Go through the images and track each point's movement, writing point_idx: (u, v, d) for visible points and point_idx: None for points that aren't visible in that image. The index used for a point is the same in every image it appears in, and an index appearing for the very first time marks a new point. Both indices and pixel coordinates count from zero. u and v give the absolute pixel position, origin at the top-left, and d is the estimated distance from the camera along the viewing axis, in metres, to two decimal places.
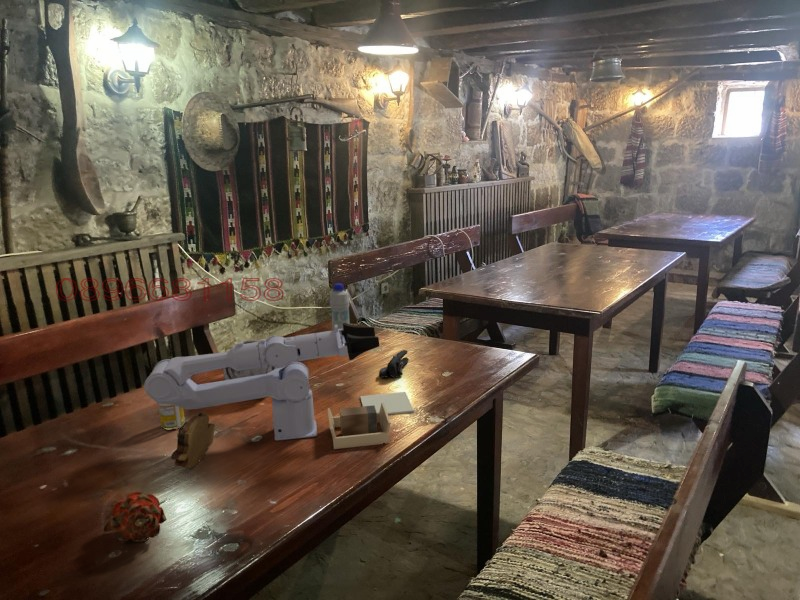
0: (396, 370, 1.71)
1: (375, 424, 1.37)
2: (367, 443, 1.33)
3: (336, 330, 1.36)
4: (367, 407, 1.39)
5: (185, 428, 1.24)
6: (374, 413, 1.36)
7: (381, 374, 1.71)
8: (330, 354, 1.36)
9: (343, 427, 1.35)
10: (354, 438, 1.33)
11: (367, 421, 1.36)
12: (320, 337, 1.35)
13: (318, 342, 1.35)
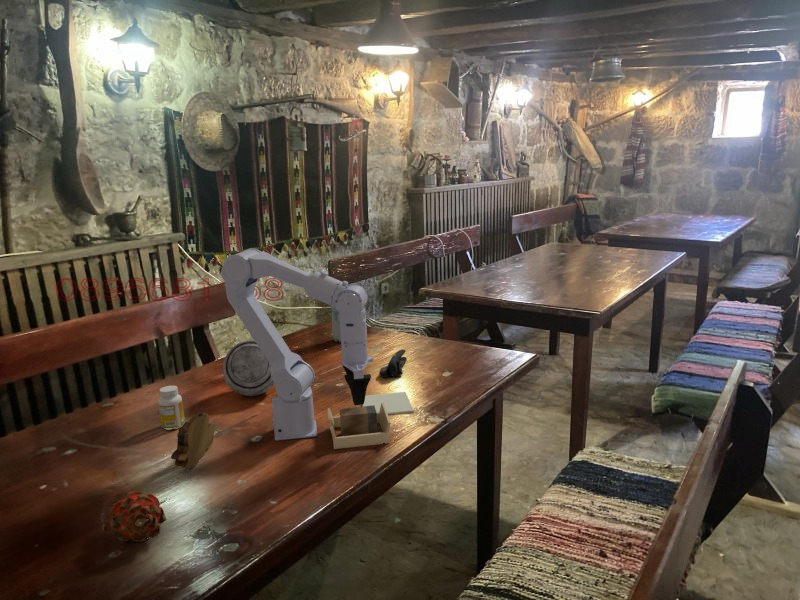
0: (397, 369, 1.72)
1: (375, 424, 1.37)
2: (367, 443, 1.33)
3: (369, 360, 1.34)
4: (367, 407, 1.39)
5: (185, 428, 1.24)
6: (374, 413, 1.36)
7: (382, 373, 1.71)
8: (346, 354, 1.32)
9: (343, 427, 1.35)
10: (354, 438, 1.33)
11: (367, 421, 1.36)
12: (365, 345, 1.32)
13: (361, 344, 1.31)
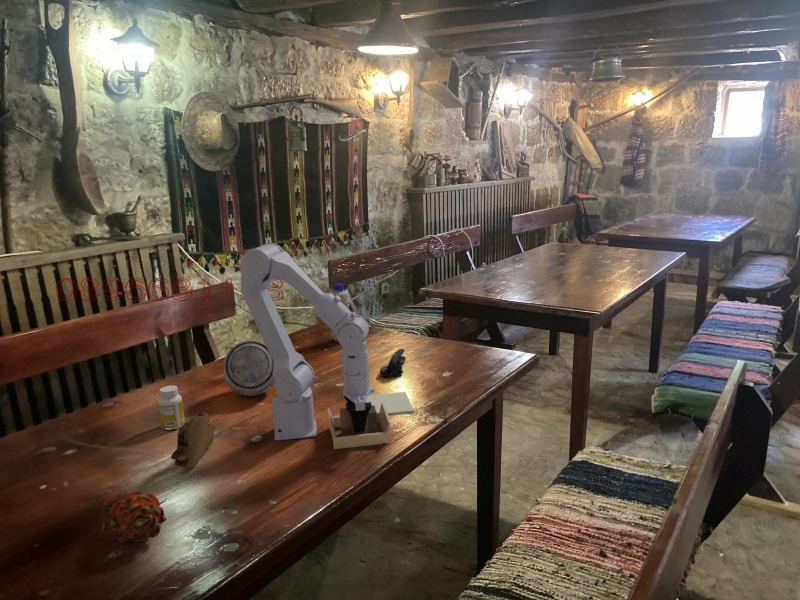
0: (397, 368, 1.72)
1: (375, 424, 1.37)
2: (367, 443, 1.33)
3: (371, 391, 1.35)
4: None
5: (185, 428, 1.24)
6: (374, 413, 1.36)
7: (383, 373, 1.71)
8: (348, 386, 1.33)
9: (343, 427, 1.35)
10: (354, 438, 1.33)
11: (367, 421, 1.36)
12: (367, 376, 1.34)
13: (363, 375, 1.33)
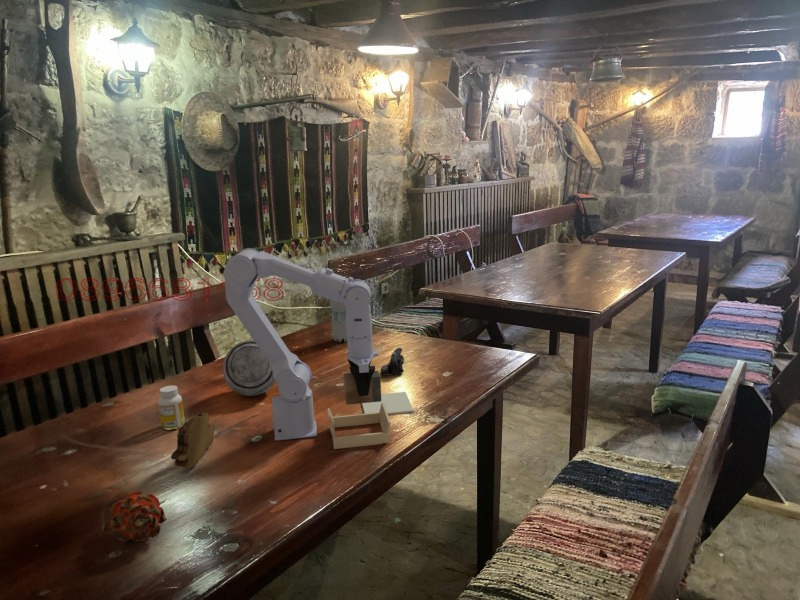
0: (398, 367, 1.73)
1: (379, 388, 1.37)
2: (367, 443, 1.33)
3: (375, 354, 1.36)
4: None
5: (185, 428, 1.24)
6: (378, 377, 1.37)
7: (384, 372, 1.72)
8: (352, 349, 1.34)
9: (347, 391, 1.36)
10: (354, 438, 1.33)
11: (371, 385, 1.37)
12: (370, 340, 1.35)
13: (367, 339, 1.34)
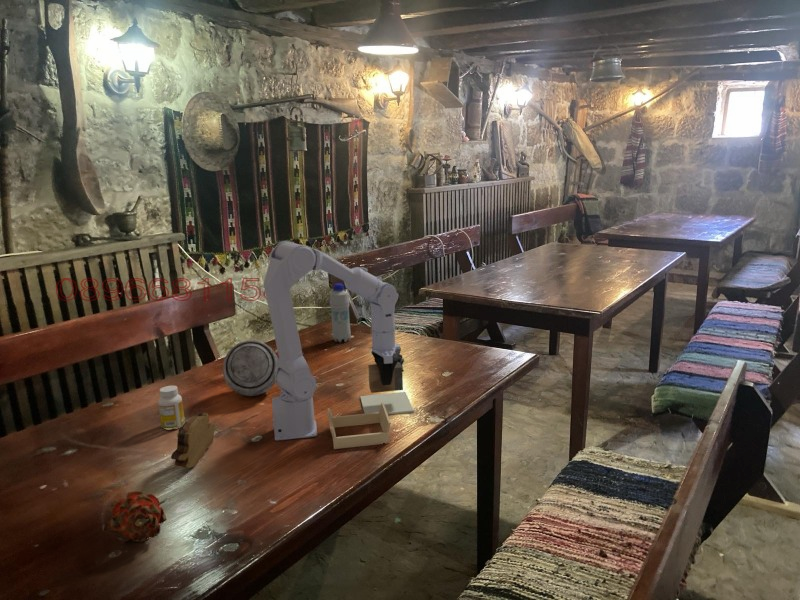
0: None
1: (401, 378, 1.51)
2: (367, 443, 1.33)
3: (397, 347, 1.50)
4: None
5: (185, 428, 1.24)
6: (400, 368, 1.51)
7: None
8: (377, 342, 1.48)
9: (372, 380, 1.50)
10: (354, 438, 1.33)
11: (394, 375, 1.51)
12: (393, 334, 1.48)
13: (390, 333, 1.47)
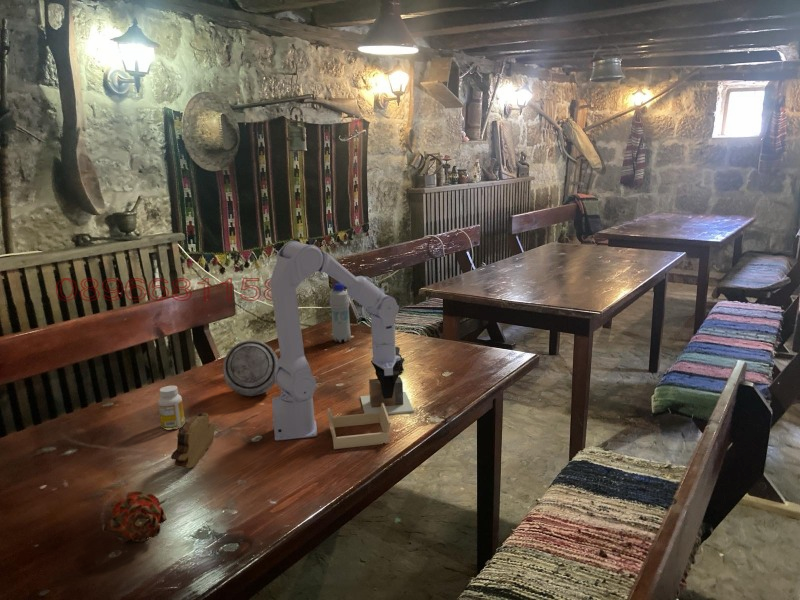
0: (399, 366, 1.75)
1: (401, 393, 1.52)
2: (367, 443, 1.33)
3: (397, 359, 1.51)
4: None
5: (185, 428, 1.24)
6: (400, 383, 1.52)
7: None
8: (377, 354, 1.49)
9: (373, 395, 1.51)
10: (354, 438, 1.33)
11: (394, 390, 1.52)
12: (393, 346, 1.49)
13: (390, 345, 1.48)
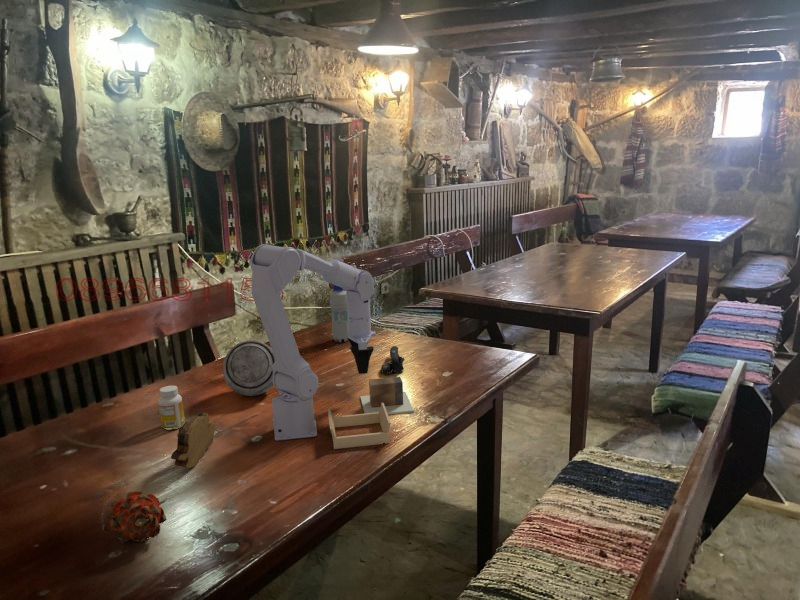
0: (399, 365, 1.75)
1: (401, 393, 1.52)
2: (367, 443, 1.33)
3: (372, 334, 1.51)
4: (394, 378, 1.54)
5: (185, 428, 1.24)
6: (400, 383, 1.52)
7: (386, 370, 1.73)
8: (352, 329, 1.49)
9: (373, 395, 1.51)
10: (354, 438, 1.33)
11: (394, 390, 1.52)
12: (368, 321, 1.50)
13: (365, 320, 1.49)
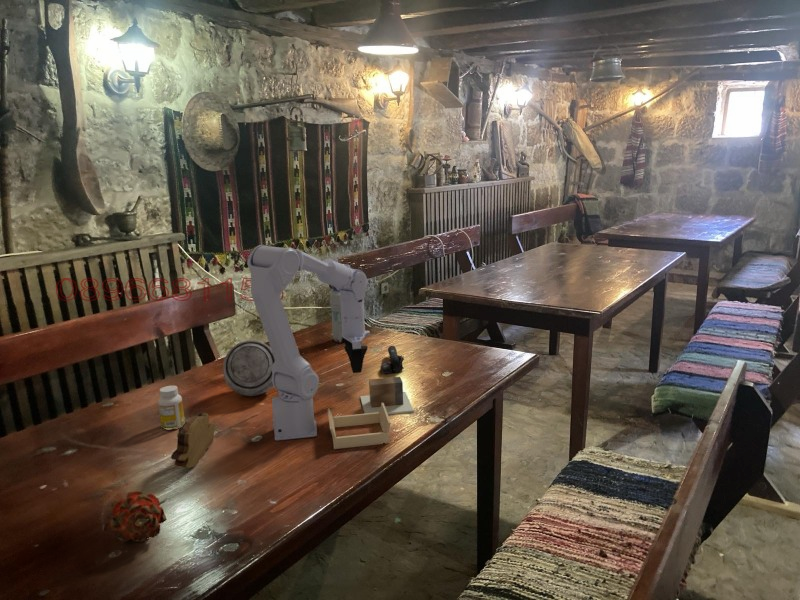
0: (399, 364, 1.76)
1: (401, 393, 1.52)
2: (367, 443, 1.33)
3: (366, 333, 1.52)
4: (394, 378, 1.54)
5: (185, 428, 1.24)
6: (400, 383, 1.52)
7: (386, 370, 1.74)
8: (346, 328, 1.50)
9: (373, 395, 1.51)
10: (354, 438, 1.33)
11: (394, 390, 1.52)
12: (362, 320, 1.50)
13: (359, 319, 1.49)
